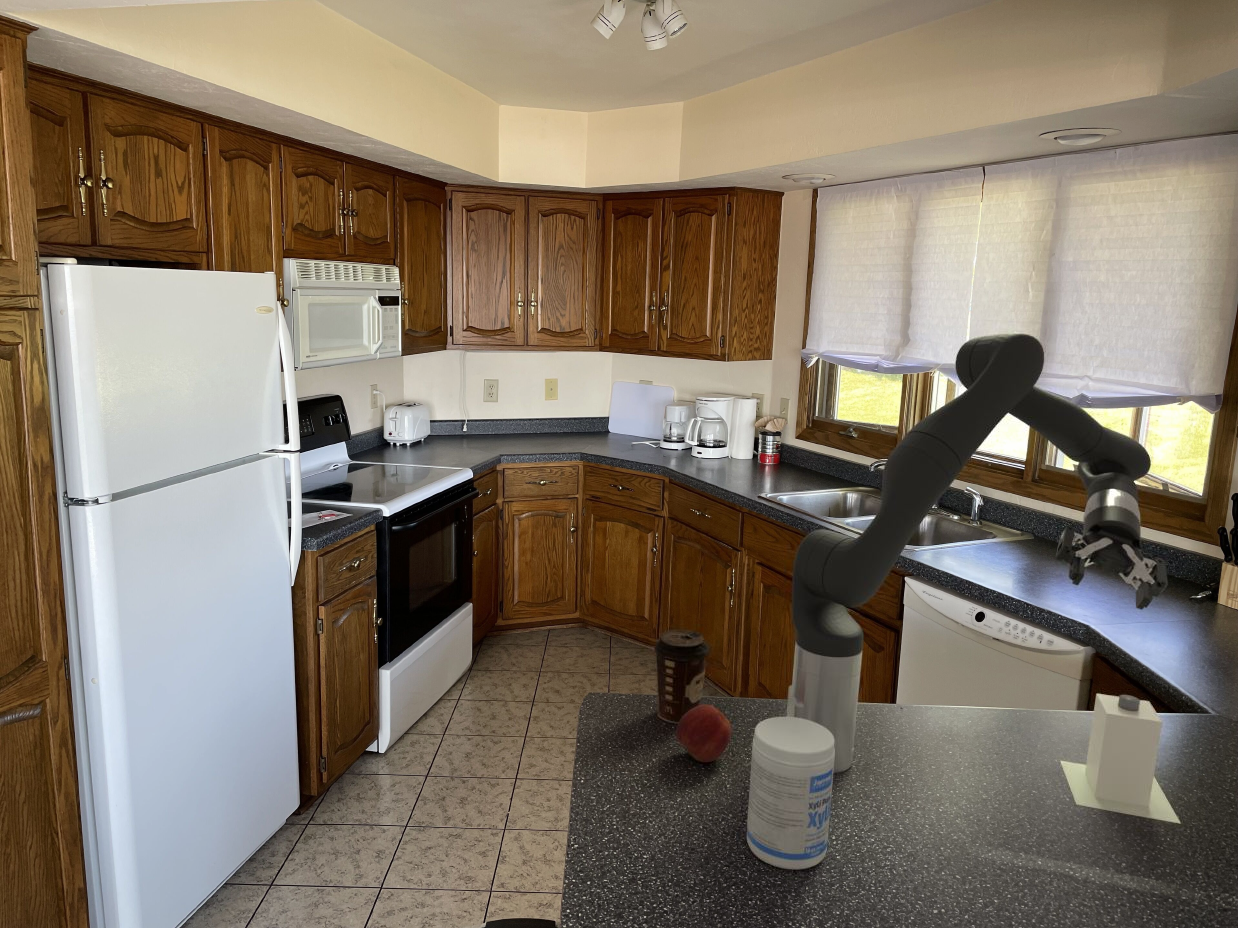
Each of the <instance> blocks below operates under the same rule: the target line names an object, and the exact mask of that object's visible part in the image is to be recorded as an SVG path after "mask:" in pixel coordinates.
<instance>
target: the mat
mask: <svg viewBox="0 0 1238 928" xmlns="http://www.w3.org/2000/svg"><path fill="white" fill-rule="evenodd" d="M1059 762H1060V764H1061V767H1062V770H1063V772H1064V775H1065V778H1066V781H1067V783H1068V786H1069V789H1070V791H1071V793H1072V797H1073V799H1074V801H1075V802H1074V803H1075V804H1076V805H1077V806H1082V807H1088V808H1093V809H1098V810H1102V811H1103V810H1104V811H1109V812H1114V813H1120V814H1125V815H1129V816H1131V815H1132V816H1137V817H1142V818H1146V819H1147V818H1148V819H1152V820H1158V821H1164V822H1169V823H1174V824H1181V821H1180V819H1179V817H1178V816H1177V814H1176V813H1175V811H1174V808H1173V807H1172V805H1171V803H1170V802H1169V800H1168V799H1167V797H1166V795H1165V793H1164V791H1163V790H1162V788H1161V786H1160V784H1159V783H1158V781H1157V779H1156V778H1155V776H1154V778H1153V784H1152V790H1151V797H1150V803H1149V807H1146V806H1141V805H1135V804H1130V803H1124V802H1119V801H1113V800H1108V799H1102V798H1097V797H1094V794H1093V792H1092V790H1091V787H1090V785H1089V782H1088V780H1087V777H1086V775H1085V769H1086V764H1083V763H1076V762H1071V761H1065V760H1059Z"/></svg>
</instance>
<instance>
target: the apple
mask: <svg viewBox="0 0 1238 928" xmlns="http://www.w3.org/2000/svg"><path fill="white" fill-rule="evenodd" d="M675 736H676V739H677V741H678V742H679V744H681V745H682V746H683V747H684V748H685V749H686V750H687V752H688V753H687V755H688V756H691V757H692V758H693V759H695V760H696V761H698V762H701V763H711V762H714V761H715V760H717V759H719V758H720V757H721V756H722V755H723V754H724V752H725V751H726V749H727V747H728V745H729V743H730V741H731V737H732V726H731V723H730V721H729V719H728V718H727V717H726V716H725V715H724V714H723V713H722V712H721V710H719V709H718V708H717V707H715V706H713V705H710V704H706V703H705V704H699V706H696V707H694V708H692V709H691V710H689V711H688V712H687V713H686V714H685V715H684V716H683V717H682V718H681V720H680V721H679V723H678V724H676V728H675Z"/></svg>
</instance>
